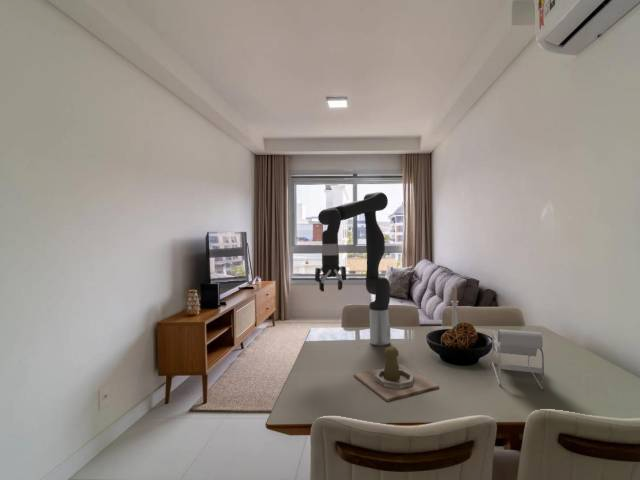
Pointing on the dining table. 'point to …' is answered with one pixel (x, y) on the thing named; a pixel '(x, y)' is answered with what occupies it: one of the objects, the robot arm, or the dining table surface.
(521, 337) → the chair
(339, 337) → the dining table surface
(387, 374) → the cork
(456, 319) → the candlestick
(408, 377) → the collar holder
